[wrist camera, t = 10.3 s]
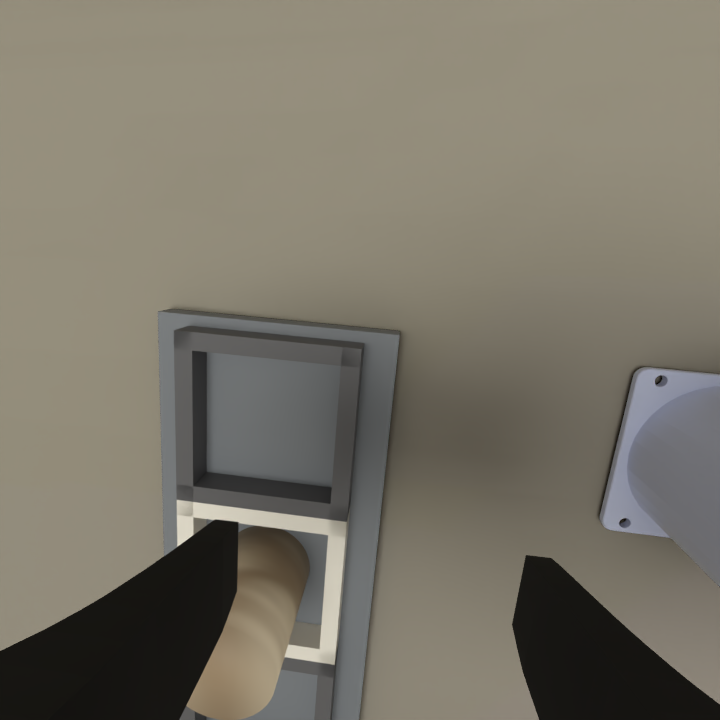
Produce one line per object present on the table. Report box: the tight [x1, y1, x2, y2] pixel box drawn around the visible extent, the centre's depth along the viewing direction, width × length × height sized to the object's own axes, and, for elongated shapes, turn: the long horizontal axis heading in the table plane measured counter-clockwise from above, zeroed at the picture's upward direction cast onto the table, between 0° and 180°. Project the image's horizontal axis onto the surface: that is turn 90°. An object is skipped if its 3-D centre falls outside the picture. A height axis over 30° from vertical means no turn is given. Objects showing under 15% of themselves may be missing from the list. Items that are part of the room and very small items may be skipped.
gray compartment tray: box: [158, 309, 400, 720], centre depth 22 cm, size 11×25×3 cm, turn 175°
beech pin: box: [186, 526, 310, 720], centre depth 19 cm, size 4×4×6 cm
